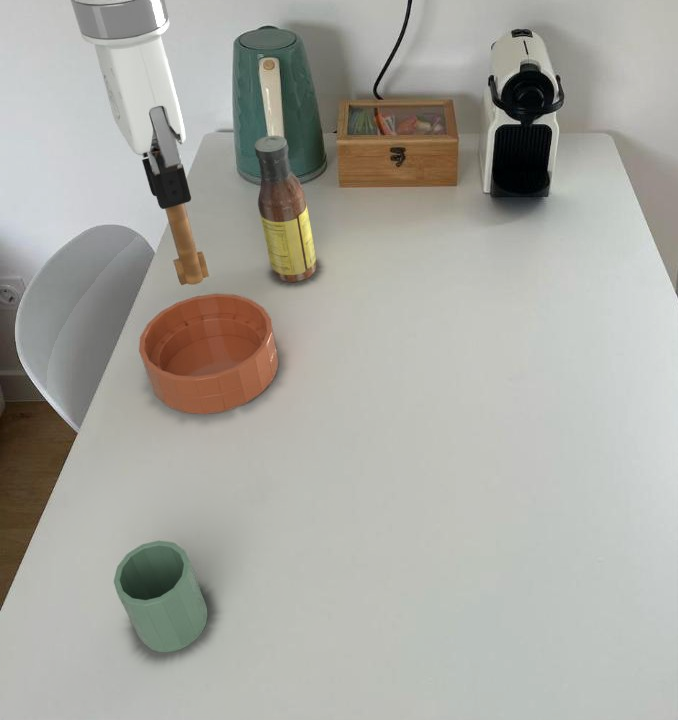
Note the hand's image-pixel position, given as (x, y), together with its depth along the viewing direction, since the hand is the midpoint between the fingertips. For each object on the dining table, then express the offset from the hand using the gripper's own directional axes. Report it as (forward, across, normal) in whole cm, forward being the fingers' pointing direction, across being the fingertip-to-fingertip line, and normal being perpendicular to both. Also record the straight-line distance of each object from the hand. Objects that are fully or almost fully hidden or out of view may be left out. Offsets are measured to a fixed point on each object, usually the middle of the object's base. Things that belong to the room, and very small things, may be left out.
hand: (171, 196), depth 82 cm
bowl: (+24, 0, 0) cm, 24 cm away
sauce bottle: (+25, -14, +16) cm, 32 cm away
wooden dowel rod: (+11, 0, 0) cm, 11 cm away
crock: (+24, +30, -14) cm, 41 cm away
